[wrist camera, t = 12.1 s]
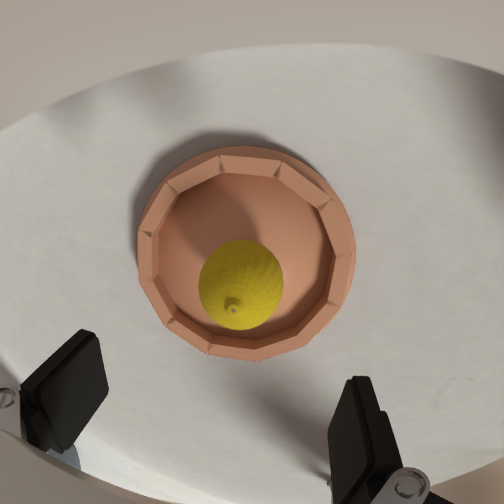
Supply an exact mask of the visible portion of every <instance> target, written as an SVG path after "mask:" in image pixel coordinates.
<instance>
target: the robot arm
mask: <svg viewBox="0 0 504 504" xmlns="http://www.w3.org/2000/svg"><path fill="white" fill-rule="evenodd" d="M20 387H21V390H20V391H19V392H18V390H17V389H16V388H15V387H13V386H10V385H1V386H0V504H170V503H166V502H163V501H159V500H156V499H153V498H150V497H146V496H143V495H140V494H137V493H134V492H131V491H129V490H126V489H123V488H120V487H118V486H115V485H113V484H110V483H108V482H105V481H103V480H100V479H98V478H96V477H93V476H91V475H89V474H87V473H84V472H82V471H80V470H78V469H76V468H74V467H72V466H70V465H68V464H66V463H64V462H62V461H60V460H58V459H56V458H54V457H52V456H51V455H49V454H48V450H49V449H50V448H51V449H52V450H54V451H56V452H57V453H59V454H61V455H62V454H63V453H64V451H65V450H68V449H70V448H71V446H72V445H73V443H74V442H75V440H76V439H77V438H78V436H79V435H80V433H81V432H82V430H83V429H84V427H85V426H86V425H87V423H88V422H89V420H90V419H91V417H92V416H93V415H94V413H95V412H96V410H97V409H98V408H99V406H100V405H101V403H102V402H103V401H104V399H105V398H106V396H107V395H108V391H109V387H108V382H107V378H106V374H105V369H104V364H103V359H102V354H101V349H100V343H99V339H98V338H97V337H96V335H95V333H93V332H90V331H87V330H84V329H80V330H79V331H78V332H77V333H75V334H74V335H73V336H72V337H71V338H70V339H69V340H68V341H67V342H65V343H64V344H63V345H62V346H61V347H60V348H59V349H58V350H57V351H56V352H55V353H53V354H52V355H51V356H50V357H49V358H48V359H47V360H46V361H45V362H44V363H43V364H42V365H41V366H40V367H39V368H37V369H36V370H35V371H34V372H33V373H32V374H31V375H30V376H29V377H28V378H27V379H26V380H25V381H24V382H23V383H22V384H21V385H20ZM328 446H329V457H330V468H331V481H332V494H333V504H454V503H451V502H449V501H448V500H445V499H444V498H441V497H440V496H438V495H436V494H434V493H432V492H430V491H429V490H430V481H429V479H428V477H427V476H426V475H425V473H424V472H422V471H420V470H419V469H416V468H411V467H405V468H403V464H402V460H401V457H400V454H399V450H398V447H397V443H396V440H395V437H394V434H393V430H392V427H391V424H390V421H389V418H388V415H387V413H386V412H385V411H380V408H379V404H378V401H377V398H376V395H375V392H374V389H373V386H372V383H371V380H370V377H369V376H353V377H352V379H351V380H350V379H348V380H347V381H346V384H345V387H344V389H343V392H342V395H341V397H340V400H339V403H338V405H337V408H336V410H335V413H334V415H333V418H332V420H331V423H330V425H329V428H328Z"/></svg>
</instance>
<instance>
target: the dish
mask: <svg viewBox="0 0 504 504" xmlns="http://www.w3.org/2000/svg"><path fill="white" fill-rule="evenodd" d="M244 239H245V240H250V241H255V242H257V243H259V244H262V245H264V246H265V247H266V248H267V249H269V250H270V251H271V252H272V253H273V254H274V256H275V257H276V258H277V260H278V261H279V264H280V266H281V269H282V272H283V280H284V287H283V293H282V298H281V300H280V302H279V304H278V306H277V309H276V310H275V311H274V313H273V314H272V315H271V316H270V317H269V318H268V320H266V321H265V322H263V323H262V324H260V325H259V326H256V327H254V328H251V329H245V330H234V329H229V328H226V327H223V326H221V325H220V324H218V323H216V322H215V321H214V320H213V319H211V318H210V317H209V316H208V314H207V313H206V311H205V310H204V308H203V306H202V303H201V301H200V298H199V289H198V282H199V277H200V272H201V269H202V267H203V265H204V263H205V261H206V259H207V258H208V257H209V255H210V254H211V253H212V252H213V251H214V250H215V249H216V248H218V247H220V246H221V245H223V244H224V243H227V242H230V241H233V240H244ZM136 256H137V265H138V272H139V281H140V282H139V283H140V285H141V287H142V288H143V290H144V292H145V294H146V296H147V297H148V299H149V301H150V303H151V304H152V306H153V308H154V310H155V311H156V313H157V315H158V317H159V318H160V320H161V322H162V323H163V325H166V326H165V327H166V328H168V329H169V330H170V331H172V332H173V333H175V334H176V335H178V336H179V337H181V338H182V339H184V340H185V341H187V342H188V343H190V344H191V345H193V346H194V347H196V348H197V349H199V350H200V351H202V352H204V353H205V354H207V352H208V355H213V356H219V357H226V358H233V359H241V360H248V361H261V360H264V359H267V358H270V357H273V356H276V355H279V354H282V353H285V352H288V351H291V350H294V349H297V348H300V347H303V346H305V344H306V345H307V344H308V343H309V342H310V341H311V339H312V338H313V337H314V336H315V335H317V334H318V333H319V332H320V331H321V330H323V329H324V328H325V327H326V326H327V325H328V324H329V323H330V321H331V320H332V319H333V318H334V317H335V315H336V314H337V313H338V311H339V310H340V308H341V306H342V305H343V303H344V301H345V299H346V297H347V294H348V292H349V290H350V287H351V283H352V280H353V276H354V270H355V263H356V247H355V240H354V233H353V229H352V226H351V222H350V219H349V217H348V214H347V212H346V210H345V208H344V206H343V204H342V202H341V201H340V199H339V197H338V196H337V194H336V193H335V191H334V190H333V189H332V188H331V187H330V185H329V184H328V183H327V182H326V181H325V180H324V179H323V178H322V177H321V176H320V175H319V174H318V173H316V172H315V171H314V170H313V169H312V168H310V167H309V166H307V165H305V164H304V163H302V162H301V161H299V160H297V159H295V158H293V157H291V156H289V155H287V154H285V153H282V152H278V151H275V150H272V149H268V148H262V147H256V146H230V147H222V148H218V149H214V150H210V151H207V152H204V153H202V154H200V155H197V156H195V157H193V158H191V159H189V160H187V161H186V162H184V163H183V164H181V165H179V166H178V167H177V168H176V169H174V170H173V171H172V172H171V173H169V174H168V175H167V176H166V177H165V178H164V180H163V181H162V182H161V183H160V184H159V185H158V186H157V188H156V189H155V191H154V192H153V194H152V195H151V196H150V198H149V200H148V202H147V204H146V206H145V208H144V210H143V213H142V216H141V219H140V222H139V227H138V232H137V241H136Z"/></svg>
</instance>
